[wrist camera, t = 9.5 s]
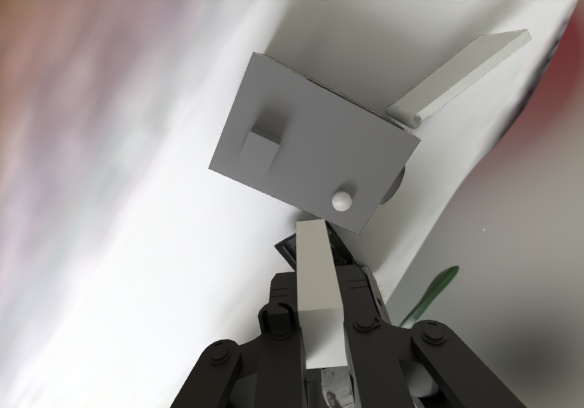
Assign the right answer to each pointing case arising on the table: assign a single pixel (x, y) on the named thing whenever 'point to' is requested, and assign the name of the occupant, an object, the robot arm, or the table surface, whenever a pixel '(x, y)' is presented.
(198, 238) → the table surface
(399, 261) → the table surface
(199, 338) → the table surface
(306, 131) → the block
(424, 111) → the side door
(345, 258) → the vintage camera
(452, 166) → the table surface
